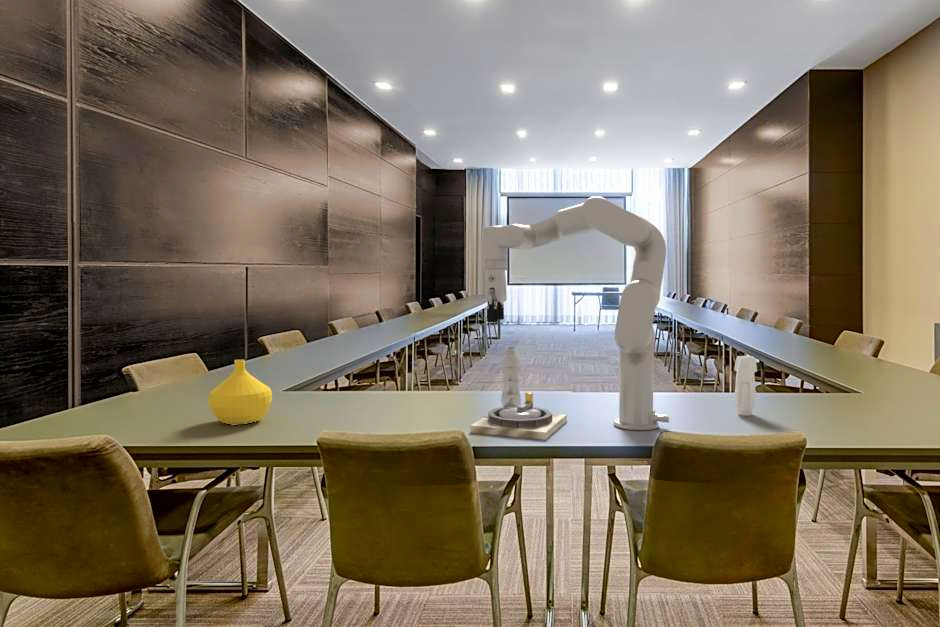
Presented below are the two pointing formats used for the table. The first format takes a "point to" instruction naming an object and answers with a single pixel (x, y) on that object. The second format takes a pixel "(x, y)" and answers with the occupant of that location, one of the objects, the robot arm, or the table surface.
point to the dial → (522, 410)
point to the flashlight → (745, 384)
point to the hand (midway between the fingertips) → (495, 320)
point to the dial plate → (520, 431)
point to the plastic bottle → (510, 378)
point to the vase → (240, 397)
